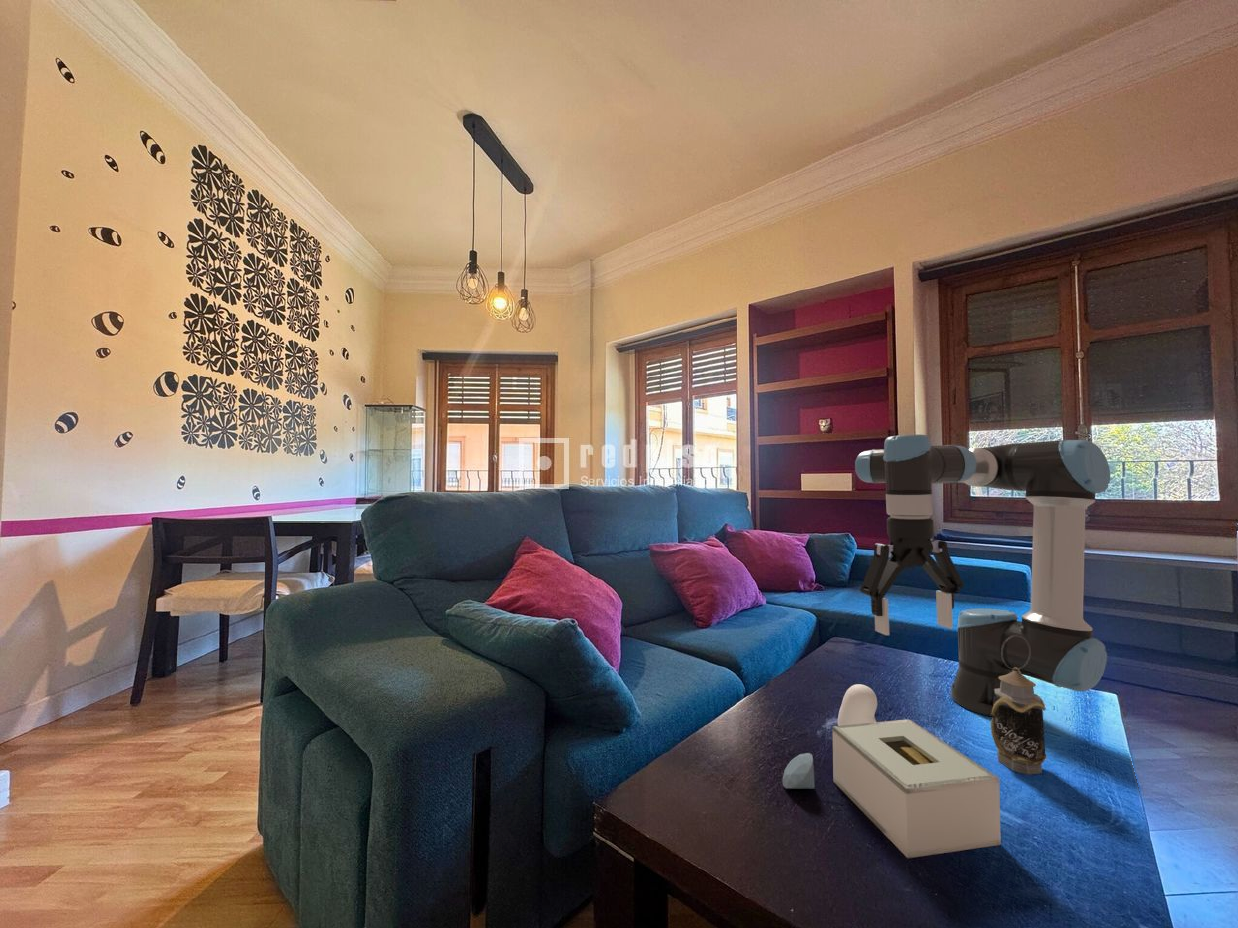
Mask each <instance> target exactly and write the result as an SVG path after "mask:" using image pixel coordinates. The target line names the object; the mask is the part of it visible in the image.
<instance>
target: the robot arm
mask: <svg viewBox="0 0 1238 928" xmlns="http://www.w3.org/2000/svg"><path fill="white" fill-rule="evenodd" d="M854 464H855V465H854V469H855V470H854V471H855V474H856V477H858V479H860V480H861V481H862V482H864V483H869V484H870V483H871V484H885V504H886V505H885V506H886V514H887V515H888V517H887V518H886V529H887V530H886V532H887V533H886V534H887V536H888V538H889V544H883V543H879V542H877V543H875V544H874V545H873V555H872V558H871V561H870V563H869V567H868V568H867V571H866V574H865V576H864V579H863V581H862V584H861V587H860V590H859V591H860V593H862V594H864V595H866V596H869V598H870V605H871V607H870V609H871V610H870V611H871V614H872V615H873V616H874V631H875V632H877V633H880V634H882V635H884V636H890V616H889V614H890V613H889V599H888V598H885V596H886V594H887V593H888V592H889V590H890V589H891V587H892V586H893V584H894V583H895V581H896V579H897V578H898V576H899V575H900V573H901V572H903V571H904V570H905V569H906V568H913V567H922V569H923V570H924V571H925V572H926V574H927V575H928V576H929V577H930V578H931V580H932V581H933V582H934V583H935V584H936V586H937V587H938V588H939V589H940V590H937V589H936V590H935V597H936V619H937V621H936V623H937V625H938V626H941V627H943V628H946V629H950V630H951V629H954V625H953V624H954V623H953V622H954V621H953V610H954V608H955V598H954V596H955V594H957V595H958V594H959V593H960V589H963V588H964V582H963V581H962V578H961V577H960V575H959V573H958V570H957V568H956V566H955V564H954V562H953V560H952V558H951V556H950V553H949V550H948V542H946V540H945V541H944V540H940V539H933V538H934V537H935V531H934V519H932V517H931V516H932V515H934V507H933V491H932V489H933V488H932V485H934V484H941V485H942V484H953V485H954V484H956V483H957V484H958V483H962V484H966V485H967V486H970V487H983V488H989V489H990V488H991V489H997V490H998V489H999V490H1004V491H1015V492H1019V491H1020V492H1025V499H1026V500H1027V501H1028V502H1029V503H1031V504H1032V505H1033V506H1032V507H1033V517H1032V518H1033V521H1032V523H1033V524H1032V556H1031V586H1030V587H1031V589H1030V609H1029V611H1027V612H1026V613H1023V615H1021V621H1019V620H1018V619H1019V618H1018V616H1017V613H1016V612H1014V611H1011V610H1006V609H997V608H996V609H995V608H968V609H964V610H961V611H960V612H959V613H958V616H957V618H958V620H957V626H956V627H957V639H958V640H957V641H958V643H957V644H958V645H957V646H958V669H957V672H956V674H955V676H954V677H955V678H954V681H953V683H952V685H951V687H950V688H951V689H950V695H951V699H952V700H953V702H955V703H956V704H958V705H959V706H961V707H963V708H965V709H967V710H969V711H972V712H974V713H977V714H980V715H984V716H987V717H992V718H993V715H991V713H992V709H993V700H994V697H995V696H996V694H995V689H999V688H1000V684H1001V680H1000V679H999V678H998V677H999V676H1003V675H1007V674H1009V673H1011V672H1012V669H1009V668H1008V667H1007V666H1009V667H1010V668H1015V667H1016V668H1021V667H1022V666H1024V665H1025V664H1026V662H1027V660H1028V658H1029V647H1028V644H1027V642H1026V641H1025V640H1024V639H1023V638H1025V639H1026V640H1027V641H1028V643H1029V645H1030V648H1031V657H1030V660H1029V662H1028V664H1027V665H1026V666H1025V667H1024V668H1023V669H1020V672H1021V674H1022V675H1023V676H1027V677H1030V678H1033V679H1036V680H1040V681H1042V682H1045V683H1047V684H1052V685H1054V686H1056V687H1057V688H1064V689H1067V690H1072V691H1073V692H1086V691H1089V690H1091V689H1093V688H1094V687H1096V686H1097V684H1098V683H1099V682H1100V680H1101V678H1102V677H1103V675H1104V672H1105V669H1106V666H1107V661H1108V654H1107V653H1108V652H1107V650H1106V646H1105V644H1104V643H1103V642H1102V641H1101V640H1099V639H1098V638H1094V637H1093V634H1094V633H1093V627H1092V626H1091V625H1090V624H1089V623H1087V621H1085V620H1084V594H1085V593H1084V592H1085V591H1084V589H1085V588H1084V587H1085V584H1084V583H1085V546H1086V545H1085V544H1086V543H1085V540H1086V509H1087V508H1088V507H1089V506H1091V505H1092V504H1094V503H1096V494H1101V493H1104V492H1106V490H1107V489H1108V488H1109V484H1110V482H1111V470H1110V466H1109V462H1108V459H1107V457H1106V456H1105V454H1104V452H1103V449H1101V448H1100V447H1099V446H1098V445H1097V444H1095V442H1092V441H1090V440H1085V439H1061V440H1049V441H1048V440H1047V441H1036V442H1034V441H1033V442H1019V443H1018V442H1017V443H1006V444H1000V445H993V446H987V447H971V448H967V447H965V446H962V445H955V444H946V445H943V444H942V445H932V444H931V441H930V437H929V436H928V435H927V434H922V433H921V434H902V435H893V436H888V437H886V438H885V440H884V445H883V449H875V448H873V449H869V450H864V451H862V452H860V453H859V454H858V455H857V457H856V459H855V461H854ZM931 554H932V555H933V556H932V555H931ZM933 557H934V558H933ZM1014 635H1019V636H1022V637H1023V638H1021V637H1012V638H1010V639H1009V640H1008V641H1007V642H1006V643H1005V645H1004V648H1003V659H1004V661H1005V663H1006V665H1007V666H1006V665H1005V664H1004V663H1003V661H1002V658H1001V649H1002V645H1003V643H1004V642H1005V640H1006V639H1007V638H1009V637H1011V636H1014ZM1014 671H1018V670H1014Z"/></svg>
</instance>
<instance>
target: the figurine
mask: <svg viewBox="0 0 1238 928" xmlns="http://www.w3.org/2000/svg"><path fill="white" fill-rule="evenodd" d="M877 708H878V698H877V695H876V693H875V692H874V690H873V689H872V688H871V687H870V686H867V685H865V684H859V683H858V684H857V683H855V684H853V685H851V686H850V687H849V688H847V689H846V691H845V693H844V695H843V699H842V702H841V705H840V708H839V711H838V717H837V726H841V725H852V724H862V723H873V722H877V720H876V718H875V713H876V711H877Z"/></svg>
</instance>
